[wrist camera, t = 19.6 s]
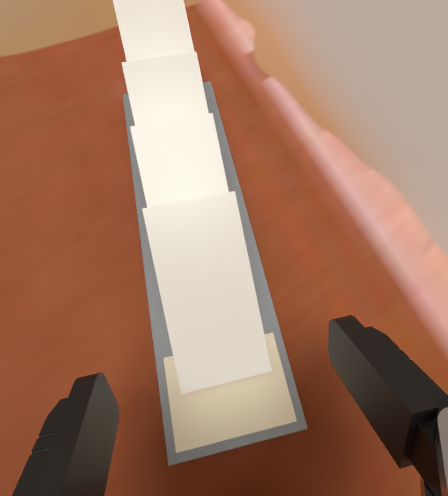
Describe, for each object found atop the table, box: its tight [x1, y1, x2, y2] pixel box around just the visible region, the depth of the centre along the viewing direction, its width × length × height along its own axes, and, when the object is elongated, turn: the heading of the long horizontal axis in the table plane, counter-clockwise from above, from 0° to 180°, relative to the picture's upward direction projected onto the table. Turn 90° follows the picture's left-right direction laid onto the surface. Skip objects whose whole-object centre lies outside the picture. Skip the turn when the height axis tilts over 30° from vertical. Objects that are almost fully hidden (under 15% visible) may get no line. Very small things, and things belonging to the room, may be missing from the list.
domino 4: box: [142, 191, 272, 394], centre depth 16 cm, size 2×5×10 cm
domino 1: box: [113, 0, 194, 62], centre depth 21 cm, size 2×5×10 cm
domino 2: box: [122, 52, 209, 126], centre depth 19 cm, size 2×5×10 cm
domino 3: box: [130, 113, 229, 208], centre depth 18 cm, size 2×5×10 cm
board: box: [123, 81, 308, 466], centre depth 21 cm, size 28×8×1 cm, turn 12°
